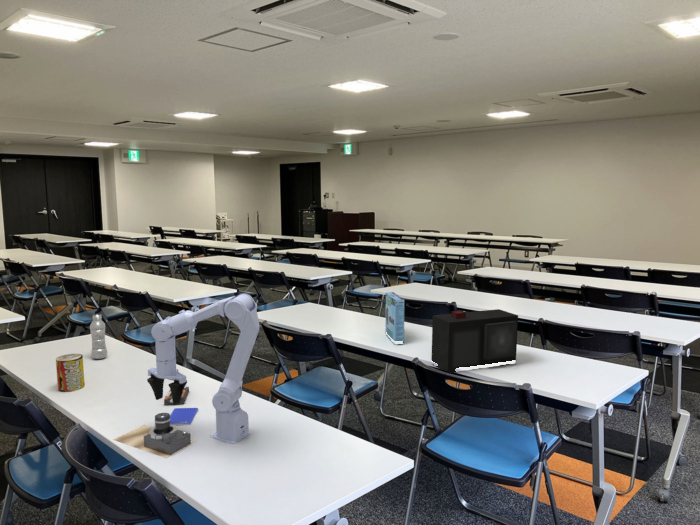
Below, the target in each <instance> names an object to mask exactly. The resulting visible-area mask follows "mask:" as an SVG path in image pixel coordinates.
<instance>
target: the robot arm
mask: <svg viewBox="0 0 700 525" xmlns="http://www.w3.org/2000/svg"><path fill="white" fill-rule="evenodd" d="M257 310H258V304H257V303H256V301H255V300H254V298H253V297H252V296H251V295H250V294H248V293H240V294H238V295H233V296H230V297H226V298H223V299H220V300H218V301H217V302H214V303H212V304H210V305H207V306H205V307H203V308H201V309H199V310H196V311H192V310H185V309H182V310H180V311H178V314H176V315H172V316H170V315H169V316H167V317H165V319H162V320H160V321H158V322H157V323H156V324H154V325H153V326H152V327H151V331H150V333H151V337H152V338H153V339H154V342H155V360H156V361H155V364H156V368H155V367H152V368H149V369H147V376H148V377H149V378H147V383H148V384H149V385H150V387H151V390H152V392H153V395H154V398H155V400H156V401H159V400H161V399H163V397H164V383H165V380H169V381H173V382H170V383H168V387H169V391H170V390H171V393H172V400H173V404H174V405H175V406H176V405H179V404H178V403H180V400H181V396H182V392H183V389H184V387H185V385H186V386H187V384H188V380H187V375H184V374H183V373H181V372H179V369H178V368H177V354H176V336H178V335H181V334H183V333H186V332H188V331H191V330H193V329H195V328H196V327H197V324H198V323H199V322H200V321H204V320H206V319H209V318H211V317H214V316H218V315H219V316H221V317H222V318H224V317H227V318H228V319H229V320H230V321H231V322H232V323H233V324H234V325H236V327H238V330H239V331H240V333H239V335H238V339H237V342H236V345H235V347H234V350H233V352H232V353H233V354H232V356H231V359H230V362H229V365H228V368H227V371H226V374H225V377H224V379H223V380H222V382H221V384H220V385H219V389H218V391H217V392H216V393H214V395H213V396H212V401H211V403H212V406H213V408H214V409H215V426H216V428H215V429H216V430H215V431H216V432H214V433H212V434H211V435H209V436H210V438H211V439H215V440H219V441H221V442H224V443H229V444H232V445H234V444H236V443H238V442H240V441H241V440H243V439H244V438H246V437H247V436H249V435H251V431H249V414H248V412H247V411H245V410H243V408H241V403H240V401H239V400H240V398H241V397H242V396H243V387H242V386H243V382H244V381H243V378H244V375H245V371H246V368H247V365H248V363H249V360H250V357H251V354H252V351H253V348H254V346H255V343H256V339H257V337H258V334H259V331H260V321H259V317H258V311H257Z"/></svg>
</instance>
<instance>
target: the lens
mask: <svg viewBox="0 0 700 525" xmlns="http://www.w3.org/2000/svg"><path fill="white" fill-rule="evenodd" d="M170 415H171V414H170V413H169V412H160V413H157V414H156V415H155V416H154V427H155V434H166V433H169V432H170Z"/></svg>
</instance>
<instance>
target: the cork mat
mask: <svg viewBox="0 0 700 525" xmlns="http://www.w3.org/2000/svg"><path fill="white" fill-rule="evenodd" d="M152 428H153V426H150V425H147V424H143V425H141V426H139V427H136V428H134V429H133V430H131V431H128V432H126V433H123V434H122V435H120V436H118V437H116V438H114V439H112V440H113V441H116V442H119V443H121V444H125V445H127V446H130V447H133V448H137V449H138V450H142V451H145V452H147V453H150V454H152V455H156V456H159V457H163V458H165V459H167V458H169V457H171V456H172V455H173V456H174V454H176V453H178V452H180V451H181V450H183V449H185V448H187V447H188V446H191V445H192V444H194V443H195V442H197V440H194V439H191V444H189V445H187V446H186V447H184V448H182V449H180V450H179V451H177V452H175V453H173V454H171V455H167V454H164V453H161V452H158V451H155V450H152V449H149V448H147V447H144V436H145V435H147V434H149V431H150V430H151V429H152Z"/></svg>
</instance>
